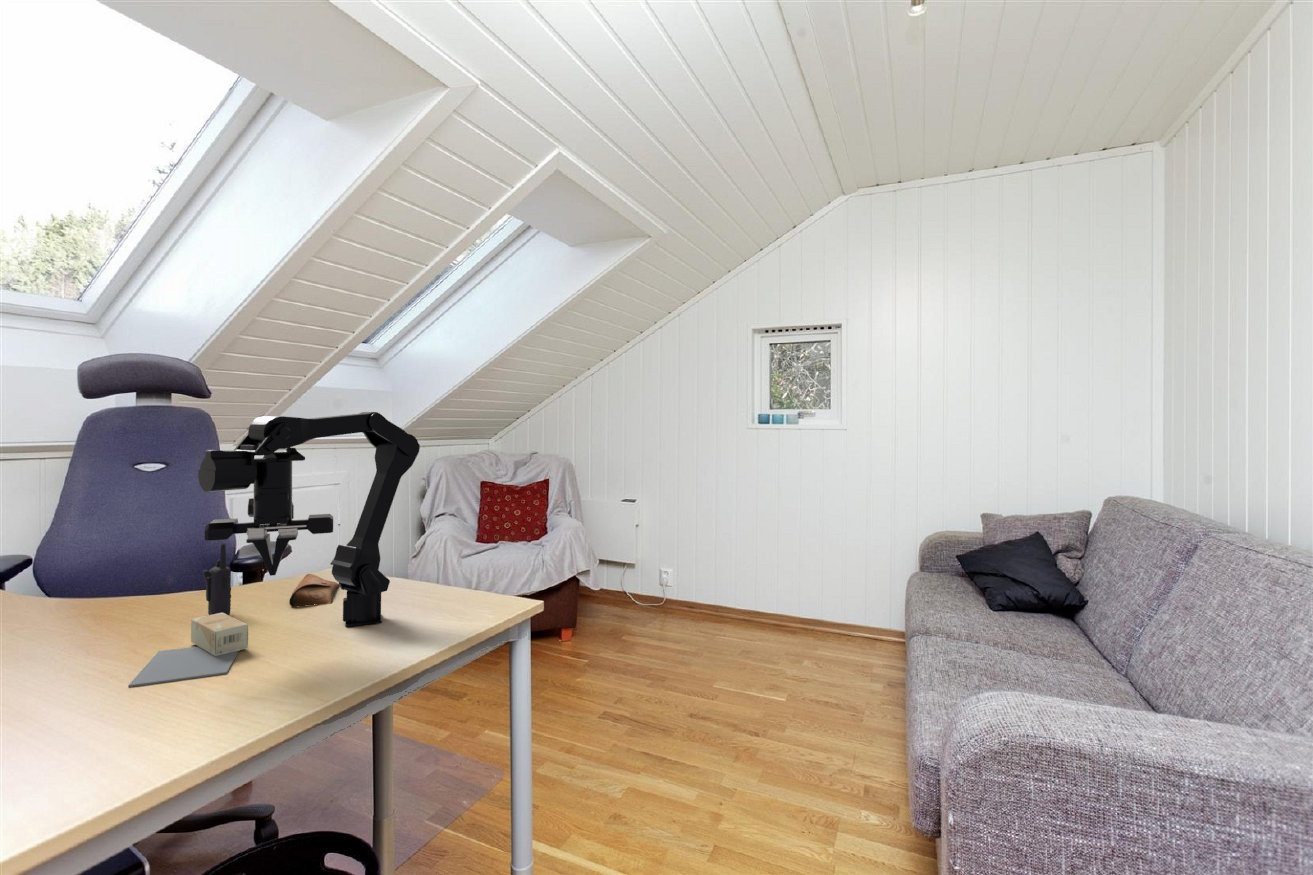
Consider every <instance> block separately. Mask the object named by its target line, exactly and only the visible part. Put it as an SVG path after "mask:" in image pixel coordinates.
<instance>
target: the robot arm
mask: <svg viewBox="0 0 1313 875" xmlns="http://www.w3.org/2000/svg"><path fill="white" fill-rule="evenodd" d="M247 431H248V432H247V433H246V435H245V436H244V437H243V438H242V439H241V441H240V442H239V443H238V445H236V447H235V448H234V449H233V450H219V449H217V450H216V449H206V450H205V452H204V455H205V456H204V458H203V459H202V461H201V463H200V466H199V469H198V470H197V472H198V474H197V476H198V477H197V478H198V482H199V485H200V487H201V488H200V489H202V490H203V491H204V492H205V493H211V492H223V491H238V490H239V491H240V490H247V489H248V488H249V487H250V486H251V485H253V498H251V497H250V498H248V501H247V502H248V503H247V515H248V517H249V518H253V522H239V519H238V518H219V519H213V520H212V521H210V522H209V523H208V524H206V526H205V527H204V541H209V542H210V541H221V540H222V541H224V540H228V539H229V538H230V537H232V536H233V535H237V534H246V536H247V539H246V544H253V546H254V547H255V549H256V550H257V552H258V553H259V555H260V556H261V558H262V561H263V563H264V565H265V567H266V569H267V570H266V571H267V573H268V574H269V576H270V577H271V576H276V575H277V572H278V569H279V566H280V563H281V560H282V557H283V555H284V552H285V550H286V548H287V546H288V544H289V543H290V541H296V540H297V537H298V536H299V531H305V530H306V531H308V532H310V533H311V534H312V535H317V534H318V535H319V534H330V533H333V532H334V516H333V515H332V514H331V513H323V514H320V513H319V514H318V513H317V514H309V515H308V518H306V519H294V515H295V514H294V513H295V512H294V510H295V509H294V508H295V507H294V503H293V462H301V461H302V462H303V461H305V460H306V456H304V455H303V454H301V452H299V451H298V450H297V449H296V446H300V445H302V444H304V443H306V442H309V441H311V440H314V439H318V438H326V437H327V438H328V437H334V436H342V435H344V436H345V435H350V434H351V435H352V434H358V433H362V434H363V435H364V437H365V438H366V440H367V443H369V444H371V445H372V446H373V447H374V448H375V454H374V462H375V463H374V464H375V469H376V472H375V476H374V478H373V480H372V483H371V486H370V489H369V492H368V494H367V497H366V501H365V503H364V506H363V509H362V512H361V515H360V516H359V519H358V523H357V525H356V529H355V531H354V534H353V537H352V538H351V540H349V541H348V542H347V543H346V545H345V544H338V545H337V547H336V551H335V555H334V557H333V559H332V560H331V562H330V565H331V566H332V568H331V575H332V576H333V578H334V580H335V581H336V583H338V584H339V587H340V589H341V590H342V591H346V597H343V599H342V600H343V601H342V621H343V622H345V626H344V627H355V626H356V627H357V626H365V625H373V624H380V623H382V622H383V619H382V618H383V617H382V593H383V592H384V593H385V592H387V591H388V589H389V586H390V583H391V579H389V578H388V577H387V576H386V575H384V574H383V573H382V572H381V571H380V570H379V569H380V565H381V553H380V547H379V544H380V539H381V537H382V533H383V531H384V528H385V525H386V522H387V519H388V517H389V513H390V511H391V509H392V504H393V501H394V500H395V499H394V498H395V496H396V493H397V490H398V487H399V484H400V481H401V479H402V478H403V476H404V475H405V473H407V472H408V470H410V469H411V467H412V466H413V464H414V463H415V461H416V459H417V457H418V456H419V454H420V449H421V446H420V443H419V441H418V439H417V438H416V436H414V435H413V434H410V433H407V432H406V431H405V430H404V429H403V428H401V427H400V426H398V425H396V424H395V423H393V422H391V421H390V420H388V419H387V418H386V417H385V416H383V415H382V414H381V413H379V412H377V411H361V412H359V413H352V414H344V415H343V414H341V415H333V416H322V417H320V416H319V417H310V418H304V417H295V416H280V415H279V416H278V415H277V416H273V415H269V416H266V415H263V416H259V417H258V416H257V417H256V418H254V419H253V420H252V422H251V423H250V425H249V426H248V430H247ZM278 450H283V451H278ZM256 456H262V457H259V458H256ZM271 532H272V533H274V532H277V533H278V535H277V537H275V538H276V539H275V547H274V554H273V553H272V547H271V534H270V533H271Z"/></svg>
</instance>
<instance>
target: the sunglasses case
mask: <svg viewBox="0 0 1313 875" xmlns="http://www.w3.org/2000/svg"><path fill="white" fill-rule="evenodd" d="M338 586H339V587H340V585H339V582H337V581H336V582H335V581H332V580H327V579H323V578H322V577H320V576H318V575H315V574H312V573H307V574H306V575H305V576H304V577H303V579H301V580H300V582H299V583H298V584H297V586H296V587H295V588H294V590H293V592H292V594H291V596H290V598H289V602H288V604H289V606H291V608H292V607H293V608H298V607H297V606H303V607H306V606H305V605H314V604H324V605H331V604H332V603H333V602H332V601H333V596H334V594H335V592H336V590H337V589H338ZM314 606H315V605H314Z"/></svg>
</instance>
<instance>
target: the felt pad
mask: <svg viewBox="0 0 1313 875" xmlns="http://www.w3.org/2000/svg"><path fill="white" fill-rule="evenodd" d="M239 652H240V650H239V651H235V652H231V653H227V654H223V655H218V656H214V655H212V654H210V653H209V652H207V651H205V650H204V649H202V648H200V647H199V646H191V647H182V648H176V649H175V648H174V649H165V650H158V651H157V652H156V654H155V655H154V656H153V657H152V658H151V660H149V661H148V663H147V664H146V665H145V666H144V667H143V668H142V669H141V670H140V671H139V672H138V674H137V675H136V676H135V677H133V679H132V681H130V683H129V684H128V685H127V686H128V688H132V687H133V688H134V687H139V686H141V687H142V686H149V685H154V684H162V683H170V682H177V681H183V680H191V679H198V678H205V677H212V676H219V675H227V674H228V673H229V670H230V669H231V667H232V665H233V663H234V661H235V659H236V657H237V656H238V654H239Z"/></svg>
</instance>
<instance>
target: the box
mask: <svg viewBox="0 0 1313 875" xmlns="http://www.w3.org/2000/svg"><path fill="white" fill-rule="evenodd" d="M190 642H191V644H193V645H196V647H198V646H199V647H200V648H202V649H204V650H205V651H207V652H209V653H210V654H212V655H214V656H218V655H223V654H227V653H231V652H235V651H239V652H240V651H242V650H246V649H248V647H249V624H248V623H246V622H244V621H241V620H239V619H237V618H235V617H233V616H231V615H227V614H225V613H218V614H213V615H204V616H198V617H195V618H192V619H191V623H190Z"/></svg>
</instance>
